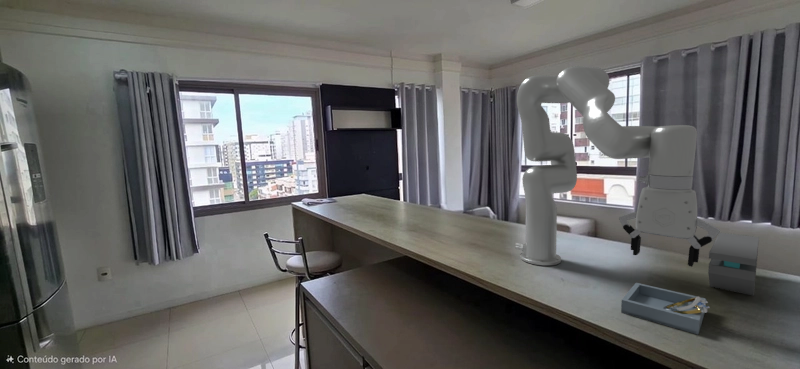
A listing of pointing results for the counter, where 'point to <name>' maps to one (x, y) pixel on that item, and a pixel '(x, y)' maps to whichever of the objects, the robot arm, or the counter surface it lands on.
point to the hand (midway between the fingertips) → (662, 258)
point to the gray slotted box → (734, 263)
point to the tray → (661, 307)
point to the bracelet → (697, 301)
